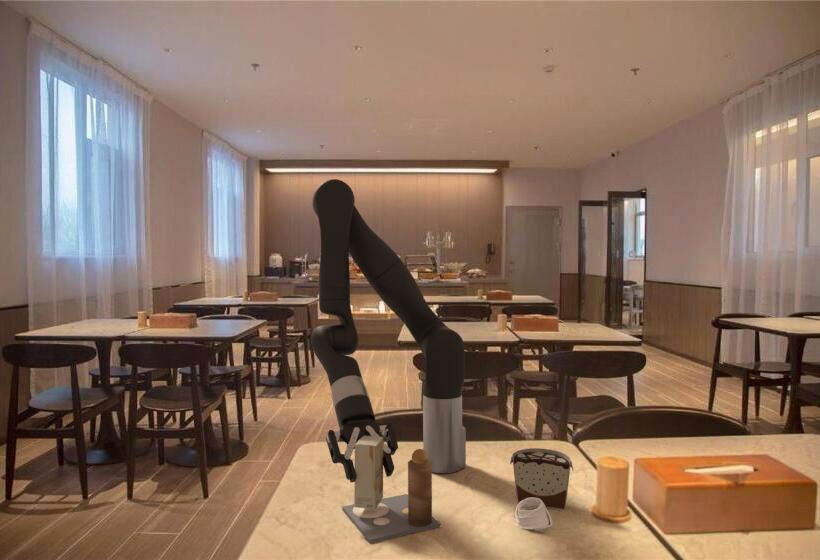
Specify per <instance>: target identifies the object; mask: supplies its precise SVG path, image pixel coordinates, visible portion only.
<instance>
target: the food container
mask: <svg viewBox="0 0 820 560" xmlns="http://www.w3.org/2000/svg"><path fill="white" fill-rule="evenodd" d="M509 464H510V465H512V466H513V476H514V484H515V495H516V496H515V497H516V504H517V505H518V503H519V502H520V501H522V500H524V499H526V498H530V497H535V498H539V499H541V500H542V501H543V503H544V505H545V508H546V509H550V510H551V509H552V510H559V511H566V510H567V500H568V491H569V490H568V489H569V483H570V482H569V481H570V473H571V469H572V472H574V468H573V467H574V466H573V462H572V460H571V457H570V456H569V455H567V454H566V453H563V452H561V451H558V450H555V449H550V448H540V447H539V448H537V447H534V448H532V447H531V448H524V449H519V450H516V451H514V452H513V453H512V456H511V457H510V461H509Z"/></svg>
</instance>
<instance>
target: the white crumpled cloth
mask: <svg viewBox="0 0 820 560" xmlns="http://www.w3.org/2000/svg"><path fill="white" fill-rule="evenodd" d="M533 508H534V509H533ZM514 517H515V523H516V525H517V527H518V528H520V529H523V530H528V531H529V530H532V531H533V530H544V529H546V528H547V529H548V528H551V527H552V526H553V519H552V516H551V515H550V512H549V511H548V508H545V505H544V503H543V501H542V500H541V499H539V498H535V497H530V498H526V499H524V500H522V501H520V502H519V503H518V504H517V505H516V507H515V516H514Z"/></svg>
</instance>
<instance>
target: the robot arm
mask: <svg viewBox="0 0 820 560" xmlns="http://www.w3.org/2000/svg"><path fill="white" fill-rule="evenodd" d="M355 200H356V199H355V195H354V192H353V190H352V188H351V187H350V186H349V185H348V183H346V182H345V181H344V180H340V179H337V178H332V179H327V180H325V181H323V182H322V183H320V184H319V185H318V186H317V188H316V190H315V191H314V193H313V197H312V209H313V211H314V213H315V215H316V216H317V218H318V223H319V224H318V225H319V230H320V257H319V272H318V308H319V311H320V312H321V313H322V314H324V315H329V316H335V317H336V318H338V320H339V324H326V325H319V326H317V327H315V328H314V329H313V331H312V333H311V336H310V344H311V348H312V350H313V353H314V355H315V356H316V358H317V360H319V362H320V364H321V366H322V368H323V370H324V371H325V373H326V376H327V379H328V382H329V387H330V391H331V399H332V406H333V408H334V412H335V415H336V419H337V424H338V428H339V430H337V431H335V430H333V429H330V430H328V432H327V435H326V437H325V441H326V445H327V447H328V451H329V455H330V458H331V461H332V463H333V464H335V465H336V464H341V465H342V466H343V470H344V474H345V478H346V479H347V481H350V482H349V483H355V480H356V472H355V464H354V462H353V459H351V457H352V455H353V451H354V450H355V444H356V443H357V442H358V441H359V439H361V438H362V437H363V436H375V437H381V436H379V433H381V435H382V437H383V438H384V437H385V441H384V440H383V470H384V473H385V476H386V477H392V474H393V473H394V470H395V465H394V461H393V458H392V456H394V455H395V453H396V451H397V450H398V449H399V444H398V441H397V437H396V434H395V428H394V425H393V423H391V422H387V424H385V425H379V423H378V422H377V420H376V416H375V413H374V412H375V411H374V409H373V406H372V403H371V399H370V395H369V392H368V390H367V389H368V388H367V387H366V383H365V382H364V379H363V376H362V372H361V369H360V365H359V364H358V361H357V359H355V358H354V357H352V356H350V355H353V354H355V352H356V351H357V349H358V346H359V335H358V330H357V327H356V324H355V321H354V318H353V317H354V316H353V312H352V308H351V277H350V276H351V275H350V257H351V258H352V260H353V262H354V263H355V265H356V266H357V267H358V269H359V271H360V272H361V274H362V276H364V277H365V279H366V281H367V282H368V284H369V285H370V286H371V288H373V291H374V292H375V293H376V294H377V295H378V297H380V300H382V301H383V302H384V304H385V305H386V306H387V307H389V309H390V310H391V311H392V312H393V313H394V314H395V315H396V316H397V317H398V318H399V320H401V321H402V323H403V324H404V326H406V329H408V331H409V333H410V335H411V336H412V338H413V339H414V341H415V342H416V344H417V346H418V348H419V349H420V351H421V353H422V355H423V356H424V358H425V377H424V382H423V384H422V419H423V420H422V422H423V423H422V427H423V428H422V430H423V431H422V436H423V437H422V442H423V445H422V446H423V448H422V449H423V450H424V451H426V453H427V455H428V460H430V461H431V462H432V473H436V474H450V473H452V474H453V473H456V472H459V471H460V470H461V469H464V468H466V467H467V450H466V444H467V443H466V439H467V437H466V436H467V433H466V430H467V429H466V427H465V426H464V425H463V387H464V384H465V373H466V372H465V371H466V369H465V365H466V363H465V362H466V360H465V359H466V352H465V351H466V350H465V344H464V343H465V342H464V340H463V338H462V336H461V335H460V333H458V332H457V331H455V330H454V329H452V328H450V327H448V326H447V325H446V324H445V323H444V322H443V321H442V320H441V319H440V318H439V317H438V315H437V314H436V313H435V312H434V311H433V309H432V308H431V307H430V306H429V304H428V302H427V301H426V299H425V296H424V295H423V292H422V291H421V289H420V287H419V285H418V283H417V281H416V279H415V278H414V276H413V274H412V272H411V271H410V270H409V269H408V267H407V266H406V263H404V262H403V260H402V259H401V258H400V257H399V255H398V254H397V253H396V252H395V251H394V249H392V247H391V246H390V245H389V244H387V243H386V242H385V241H384V239H382V238H381V237H380V236H379V235H378V234H377V233H376V232H374V230H372V229H371V227H370V226H369V225H368V224H367V223H366V221H365V219H364V218H363V217H362V215H361V214H360V212H359V210H358V209H357V207H356V205H355ZM339 438H340V439H339ZM339 440H342V441H343V442H344V443H345V444H347V445H346V447H345V450H344V453H341V450H340V449H341V448H340V447H339V443H338V442H339ZM385 442H386V443H385Z"/></svg>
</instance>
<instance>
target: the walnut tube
mask: <svg viewBox="0 0 820 560" xmlns="http://www.w3.org/2000/svg"><path fill="white" fill-rule="evenodd" d="M432 473H433V472H432V462H431V461H430V460H428V455H427V453H426V451H424V450H423V448H417V449H415V450H414V451H413V452H412V455H411V460H408V462H407V480H408V481H407V492H408V493H407V495H408V522H409V524H411V525H413V526H416V527H424V526H428V525H430V524H431V523H432V516H433V480H432V479H433V475H432Z"/></svg>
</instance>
